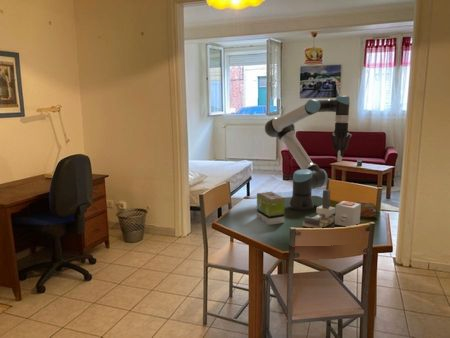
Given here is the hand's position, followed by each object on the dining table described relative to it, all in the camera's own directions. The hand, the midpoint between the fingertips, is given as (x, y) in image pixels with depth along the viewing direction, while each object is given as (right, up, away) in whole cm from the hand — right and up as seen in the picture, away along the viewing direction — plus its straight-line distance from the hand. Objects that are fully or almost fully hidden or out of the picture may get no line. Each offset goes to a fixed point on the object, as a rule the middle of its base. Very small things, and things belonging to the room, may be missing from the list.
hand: (339, 161), depth 235 cm
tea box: (-44, -34, -16) cm, 58 cm away
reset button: (-2, -26, -24) cm, 35 cm away
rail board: (-16, -34, -20) cm, 43 cm away
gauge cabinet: (-2, -35, -22) cm, 41 cm away
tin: (+11, -32, -8) cm, 35 cm away
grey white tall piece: (-13, -31, -16) cm, 37 cm away
